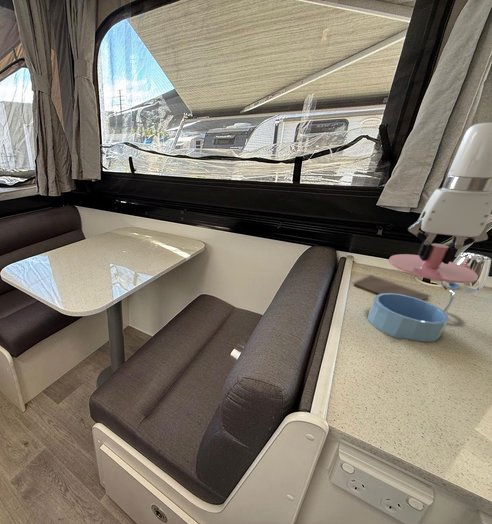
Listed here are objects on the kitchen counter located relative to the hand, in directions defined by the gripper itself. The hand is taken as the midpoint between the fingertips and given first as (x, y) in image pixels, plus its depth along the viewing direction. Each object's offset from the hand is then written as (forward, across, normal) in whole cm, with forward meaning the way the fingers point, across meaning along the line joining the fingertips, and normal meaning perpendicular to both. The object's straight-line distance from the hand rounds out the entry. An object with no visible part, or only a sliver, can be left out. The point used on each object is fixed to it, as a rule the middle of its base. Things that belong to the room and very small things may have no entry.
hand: (433, 259), depth 67 cm
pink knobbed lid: (+2, 0, 0) cm, 2 cm away
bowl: (+21, 0, 0) cm, 21 cm away
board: (+21, 0, -23) cm, 31 cm away
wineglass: (+21, -10, -10) cm, 25 cm away
